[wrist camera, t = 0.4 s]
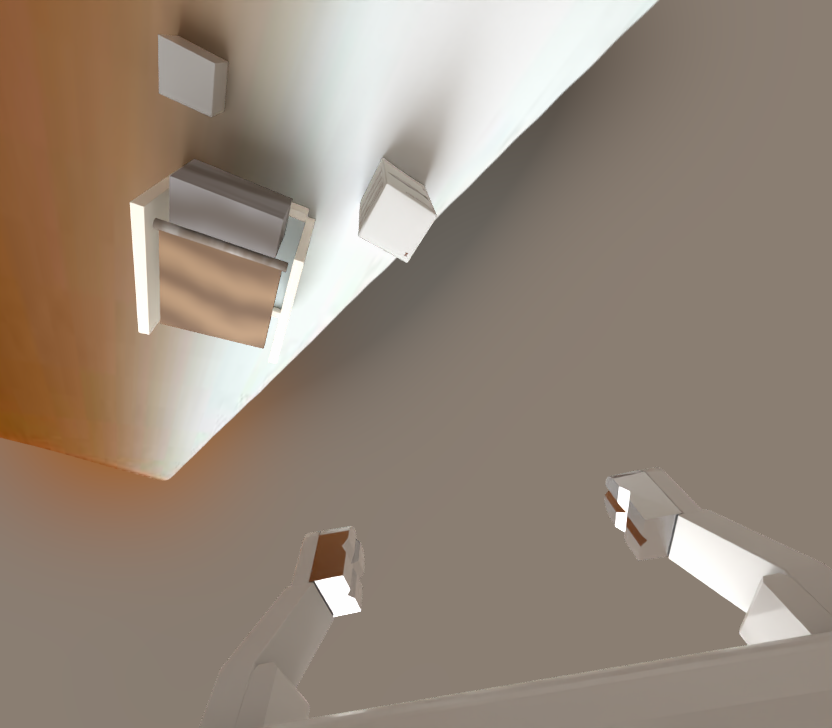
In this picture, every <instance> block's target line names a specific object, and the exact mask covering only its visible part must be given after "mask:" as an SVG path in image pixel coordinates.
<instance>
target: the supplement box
mask: <svg viewBox="0 0 832 728" xmlns="http://www.w3.org/2000/svg"><path fill="white" fill-rule="evenodd" d="M436 217H437V215H436V212H435V210H434V208H433V205H432V203H431V200H430V198H429V196H428V193H427V191H426V189H425V186H424V185H422V184H421V183H419V182H418V181H416V180H414V179H413V178H411V177H410V176H408V175H407V174H405V173H404V172H402V171H401V170H400V169H398V168H397V167H395V166H394V165H393V164H391V163H390V162H388V161H387V160H386V159H384V158H382V159H381V161H380V163H379V165H378V168H377V170H376V172H375V174H374V176H373V178H372V180H371V182H370V184H369V186H368V188H367V190H366V192H365V194H364V196H363V198H362V200H361V202H360V211H359V232H358V236H359V237H360V238H362V239H364V240H366V241H368V242H370V243H372V244H373V245H375V246H377V247H379V248H381V249H382V250H384V251H386V252H388V253H390V254H392V255H394V256H395V257H397V258H399V259H401V260H403V261H405V262H408V261H409V260H410V258H411V256H412V255H413V253H414V252H415V250H416V248H417V247H418V245H419V243H420V242H421V240H422V239H423V237H424V236H425V234H426V233H427V231H428V229H429V228H430V226H431V225H432V223H433V222H434V220H435V219H436Z"/></svg>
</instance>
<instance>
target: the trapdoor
mask: <svg viewBox="0 0 832 728" xmlns="http://www.w3.org/2000/svg"><path fill="white" fill-rule="evenodd" d="M291 204H292V199H291V198H289V197H286V196H284V195H281V194H279V193H277V192H274V191H272V190H269V189H267V188H264V187H262V186H260V185H257V184H255V183H252V182H250V181H247V180H245V179H243V178H240V177H238V176H235V175H233V174H230V173H228V172H226V171H223V170H221V169H218V168H216V167H213V166H211V165H208V164H206V163H204V162H201V161H199V160H196V159H193V160H192V161H190V162H189V163H187V164H186V165H184V166H183V167H181V168H180V169H178V170H177V171H176V172H174V173H173V174H171V175H170V176H169V222H167V221H164V220H161V219H158V218H155V219H154V221H153V228H154V229H156V230H159V278H160V324H164V325H168V326H172V327H177V328H181V329H185V330H189V331H193V332H197V333H201V334H205V335H209V336H214V337H218V338H222V339H226V340H230V341H234V342H238V343H242V344H246V345H251V346H255V347H259V348H264V345H265V341H266V337H267V333H268V328H269V324H270V320H271V315H272V311H273V307H274V302H275V298H276V294H277V290H278V285H279V281H280V277H281V272H282V271H283V272H286V270H287V266H288V263H287V262H284V261H281V260H278V259H275V257H276V255H277V252H278V250H279V247H280V245H281V242H282V240H283V237H284V235H285V231H286V226H287V222H288V217H289V213H290V208H291ZM170 222H171V223H170ZM178 225H179V226H178ZM181 226H182V227H181ZM184 227H185V228H184ZM187 228H188V229H187ZM190 229H191V230H190ZM193 230H194V231H193ZM196 231H197V232H196ZM199 232H200V233H199ZM202 233H203V234H202ZM205 234H206V235H205ZM208 235H209V236H208ZM211 236H212V237H211ZM219 239H220V240H219ZM222 240H223V241H222ZM225 241H226V242H225ZM228 242H229V243H228ZM231 243H232V244H231ZM234 244H235V245H234ZM237 245H238V246H237ZM240 246H241V247H240ZM243 247H244V248H243ZM246 248H247V249H246ZM249 249H250V250H249ZM252 250H253V251H252ZM263 254H264V255H263ZM266 255H267V256H266ZM269 256H270V257H269ZM272 257H273V258H272Z"/></svg>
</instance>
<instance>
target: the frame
mask: <svg viewBox="0 0 832 728" xmlns="http://www.w3.org/2000/svg"><path fill="white" fill-rule="evenodd" d="M179 169H180V168H179ZM176 171H177V170H176ZM176 171H175V172H176ZM173 173H174V172H173ZM173 173H172V174H173ZM170 175H171V174H170ZM170 175H169V176H170ZM169 176H167V177H166V178H164V179H163V180H161V181H160V182H159V183H157V184H156V185H154V186H153V187H151V188H150V189H148V190H147V191H145V192H144V193H142V194H141V195H139V196H138V197H137V198H135V199H134V200H132V201H131V202H130V212H131V226H132V241H133V256H134V271H135V286H136V301H137V316H138V331H139V332H140V333H144V334H150V333H151V332H152V330H153V329H154V327H155V326H156V325H157V323H158V322H159V321H160V278H159V230H156V229H154V228H153V221H154V219H155V218H158V219H161V220H164V221H167V222H169ZM308 213H309V209H308V208H306V207H304V206H301V205H299V204H296V203H294V202H292V204H291V208H290V213H289V216H290V217H293V218H295V219H298V220H300V221H303V222H305V226H304V229H303V232H302V236H301V239H300V242H299V245H298V248H297V251H296V255H295V258H294V261H293V265H292V269H291V273H290V277H289V281H288V285H287V289H286V293H285V297H284V301H283V305H282V309H279V308H276V307H273V311H272V315H271V316H273V317H277V318H279V321H278V325H277V329H276V333H275V337H274V341H273V345H272V349H271V353H270V357H269V361H268V362H270V363H275V364H277V360H278V357H279V353H280V349H281V346H282V342H283V338H284V335H285V331H286V327H287V324H288V320H289V316H290V313H291V309H292V305H293V302H294V298H295V294H296V291H297V287H298V283H299V280H300V276H301V272H302V269H303V265H304V261H305V258H306V254H307V250H308V246H309V242H310V239H311V235H312V231H313V227H314V223H315V219H312V218H310V217H307V216H308ZM170 223H171V222H170ZM178 226H179V225H178ZM181 227H182V226H181ZM184 228H185V227H184ZM187 229H188V228H187Z"/></svg>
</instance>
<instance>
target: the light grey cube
mask: <svg viewBox="0 0 832 728" xmlns="http://www.w3.org/2000/svg"><path fill="white" fill-rule="evenodd" d="M158 60H159V94H161V95H164V96H166V97H168V98H170V99H172V100H175V101H177V102H179V103H181V104H183V105H185V106H188V107H190V108H192V109H194V110H196V111H198V112H201V113H203V114H205V115H207V116H209V117H213V116H215V115H217V114H220V113H222V112H224V109H225V98H226V86H227V75H228V63H229V62H228V61H226V60H224V59H222V58H220V57H218V56H216V55H214V54H212V53H211V52H209V51H207V50H205V49H203V48H201V47H199V46H197V45H195V44H193V43H191V42H189V41H188V40H186V39H184V38H182V37H180V36H178V35H160V34H158Z"/></svg>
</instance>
